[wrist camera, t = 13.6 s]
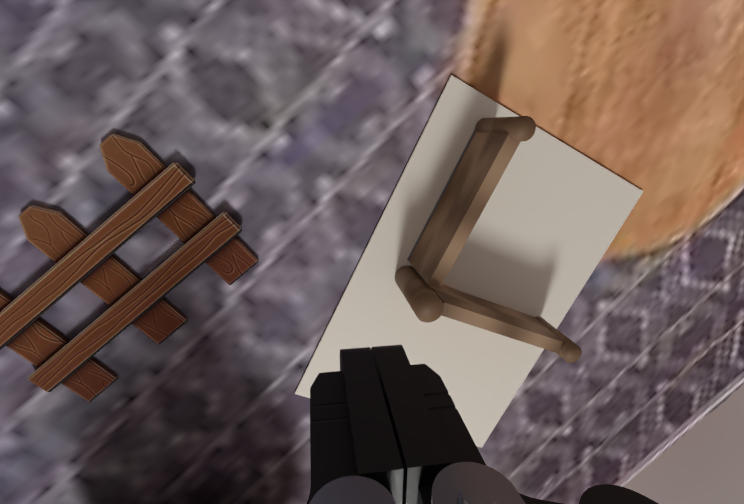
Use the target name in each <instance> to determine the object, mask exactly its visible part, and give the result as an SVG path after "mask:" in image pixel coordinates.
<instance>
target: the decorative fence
mask: <svg viewBox="0 0 744 504" xmlns="http://www.w3.org/2000/svg"><path fill="white" fill-rule="evenodd" d="M100 149H101V152H102V156H103V159H104V162H105V165H106V169H107V171H108V172H109V173H110V174H111V175H112V176H113V177H114V178H116V179H117V180H118V181H119V182H120V183H121V184H122V185H123V186H124V187H125V188H126V189H127V190H128V191H129V192H130V193H132V194H133V195H134V197H133V198H132V199H130V200H129V201H128V202H127V203H126V204H125V205H123V206H122V207H121V208H120V209H119V210H118V211H117V212H115V213H114V214H113V215H112V216H111V217H110V218H108V219H107V220H106V221H105V222H104V223H103V224H101V225H100V226H99V227H98V228H97V229H96V230H95V231H93V232H92V233H91V234H90V235H89V234H88V233H87V232H85V231H84V230H83V229H82V228H81V227H80V226H78V225H77V224H76V223H75V222H74V221H73V220H71V219H70V218H69V217H68V216H67V215H66V214H64V213H63V212H61V211H58V210H54V209H50V208H46V207H42V206H38V205H31V206H29V207H28V208H27V209H26V210H24V211H23V212H22V213H21V214H20V215H19V220H20V222H21V225H22V227H23V230H24V232H25V235H26V237H27V240H28V241H29V242H30V243H32V244H33V245H34V246H35V247H37V248H38V249H39V250H40V251H42V252H43V253H44V254H45V255H47V256H48V257H49V258H51V259H52V260H53V261H54V262H56V264H55V265H54V266H53V267H52V268H51V269H49V270H48V271H47V272H46V273H45V274H44V275H43V276H41V277H40V278H39V279H38V280H37V281H36V282H34V283H33V284H32V285H31V286H30V287H29V288H27V289H26V290H25V291H24V292H23V293H22V294H21V295H19V296H18V297H17V298H16V299H15V300H13V299H12V298H10V297H9V296H8V295H6V294H5V293H4V292H2V291H1V290H0V350H1V349H2V348H3V347H5V346H7V347H9V348H10V349H12V350H13V351H15V352H16V353H18V354H19V355H21V356H22V357H24V358H25V359H27V360H28V361H29V362H31V363H32V364H34V365H35V366H37V367H38V369H37V370H36V371H35V372H33V373H32V374H31V375H30V376H29V377H28V378H29V380H30V381H31V382H33V383H34V384H36V385H37V386H39V387H40V388H42V389H43V390H45V391H46V392H51V391H52V390H53V389H55V388H56V387H57V386H58V385H59V384H60V383H62V384H63V385H65V386H66V387H68V388H69V389H71V390H72V391H73V392H75V393H76V394H78V395H79V396H81V397H82V398H84V399H85V400H87V401H88V402H91V401H92V400H93V399H94V398H95V397H97V396H98V395H99V394H100V393H101V392H103V391H104V390H105V389H106V388H107V387H109V386H110V385H111V384H112V383H113V382H115V381H116V380H117V378H118V376H117V375H116V374H114V373H113V372H111V371H110V370H109V369H107V368H106V367H105V366H103V365H102V364H101V363H99V362H98V361H96V360H95V359H94V358H92V357H93V356H94V355H95V354H96V353H97V352H99V351H100V350H101V349H102V348H103V347H105V346H106V345H107V344H108V343H109V342H110V341H112V340H113V339H114V338H115V337H116V336H118V335H119V334H120V333H121V332H122V331H124V330H125V329H126V328H127V327H128V326H130V325H131V324H133V325H135V326H136V327H137V328H138V329H140V330H141V331H142V332H143V333H145V334H146V335H147V336H148V337H150V338H151V339H152V340H153V341H155V342H156V343H157V344H160V343H161V342H163V341H164V340H165V339H166V338H167V337H169V336H170V335H171V334H172V333H173V332H175V331H176V330H177V329H178V328H179V327H181V326H182V325H183V324H184V323H186V321H187V318H186V317H185V316H184V315H183V314H181V313H180V312H179V311H178V310H177V309H176V308H174V307H173V306H172V305H171V304H170V303H169V302H167V301H166V300H165V299H164V298H163V297H164V296H165V295H166V294H168V293H169V292H170V291H171V290H172V289H174V288H175V287H176V286H177V285H178V284H179V283H181V282H182V281H183V280H184V279H185V278H187V277H188V276H189V275H190V274H191V273H193V272H194V271H195V270H196V269H197V268H199V267H200V266H201V265H202V264H203V263H204V262H205V263H206V264H207V265H208V266H210V267H211V268H212V269H213V270H214V271H215V272H216V273H217V274H218V275H219V276H220V277H221V278H222V279H223V280H225V281H226V282H227V283H228V284H229V285H231V284H232V283H234V282H235V281H236V280H237V279H238V278H240V277H241V276H242V275H243V274H244V273H246V272H247V271H248V270H249V269H250V268H252V267H253V266H254V265H255V264H256V263H258V258H257V257H256V256H255V255H254V254H253V253H252V252H251V251H250V250H249V249H248V248H247V247H246V246H245V245H244V244H243V243H242V242H241V241H240V240H239V239H238V238H237V237H236V236H237V235H238V234H239V233H240V232H241V231H242V227H241V226H240V225H239V224H238V223H237V222H236V221H235V220H234V219H233V218H232V217H231V216H230V215H229V214H228V213H227V212H222V213H221V214H220V215H219V216H218V217H216V216H215V215H214V214H213V213H212V212H211V211H210V210H209V209H208V208H207V207H206V206H205V205H204V204H203V203H202V202H201V201H200V200H199V199H198V198H197V197H196V196H195V195H194V194H193V193H192V192H191V191H190V190H189V188H190V187H191V186H193V185H194V184H195V179H194V178H193V177H192V176H191V175H190V174H189V173H188V172H187V171H186V170H185V169H184V168H183V167H182V166H181V165H180V164H179V163H177V162H173V163H172V164H171V165H170V166H169V167H166V166H165V165H164V164H163V163H162V162H161V161H160V160H159V159H158V158H157V157H156V156H155V155H154V154H153V153H152V152H151V151H150V150H149V149H148V148H147V147H146V146H145V145H144V144H143V143H142V142H140V141H137V140H134V139H130V138H127V137H124V136H121V135H118V134H111V135H110V136H108V137H107V138H106V139H105V140H104V141H103V142H102V143H101V144H100ZM155 217H157V218H158V219H159V220H160V221H161V222H163V223H164V224H165V225H166V226H167V227H168V228H169V229H170V230H171V231H172V232H173V233H174V234H175V235H176V236H177V237H179V238H180V239H181V240H182V241H183V242H184V243H185V245H183V246H182V247H181V248H180V249H179V250H177V251H176V252H175V253H174V254H173V255H172V256H170V257H169V258H168V259H167V260H166V261H164V262H163V263H162V264H161V265H160V266H159V267H157V268H156V269H155V270H154V271H153V272H152V273H150V274H149V275H148V276H147V277H146V278H144V279H143V280H142V279H140V278H139V277H138V276H137V275H136V274H135V273H133V272H132V271H131V270H130V269H129V268H128V267H126V266H125V265H124V264H123V263H122V262H121V261H119V260H118V259H117V258H116V257H115V256H114V255H112V254H113V253H114V252H115V251H117V250H118V249H119V248H120V247H121V246H122V245H124V244H125V243H126V242H127V241H128V240H129V239H131V238H132V237H133V236H134V235H135V234H136V233H138V232H139V231H140V230H141V229H142V228H144V227H145V226H146V225H147V224H148V223H149V222H151V221H152V220H153V219H154V218H155ZM79 282H81V283H82V284H83V285H84V286H86V287H87V288H88V289H89V290H91V291H92V292H93V293H94V294H96V295H97V296H98V297H99V298H101V299H102V300H103V301H104V302H106V303H107V304H108V305H109V306H111V307H110V308H109V309H108V310H107V311H105V312H104V313H103V314H102V315H101V316H100V317H98V318H97V319H96V320H95V321H94V322H92V323H91V324H90V325H89V326H88V327H87V328H85V329H84V330H83V331H82V332H81V333H79V334H78V335H77V336H76V337H75V338H74V339H72V340H71V341H69V340H68V339H66V338H65V337H64V336H62V335H61V334H60V333H58V332H57V331H55V330H54V329H53V328H51V327H50V326H49V325H47V324H46V323H45V322H43V321H42V320H40V319H39V318H38V317H40V316H41V315H42V314H43V313H44V312H45V311H47V310H48V309H49V308H50V307H51V306H52V305H54V304H55V303H56V302H57V301H58V300H59V299H61V298H62V297H63V296H64V295H65V294H66V293H68V292H69V291H70V290H71V289H72V288H73V287H75V286H76V285H77V284H78V283H79Z"/></svg>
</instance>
